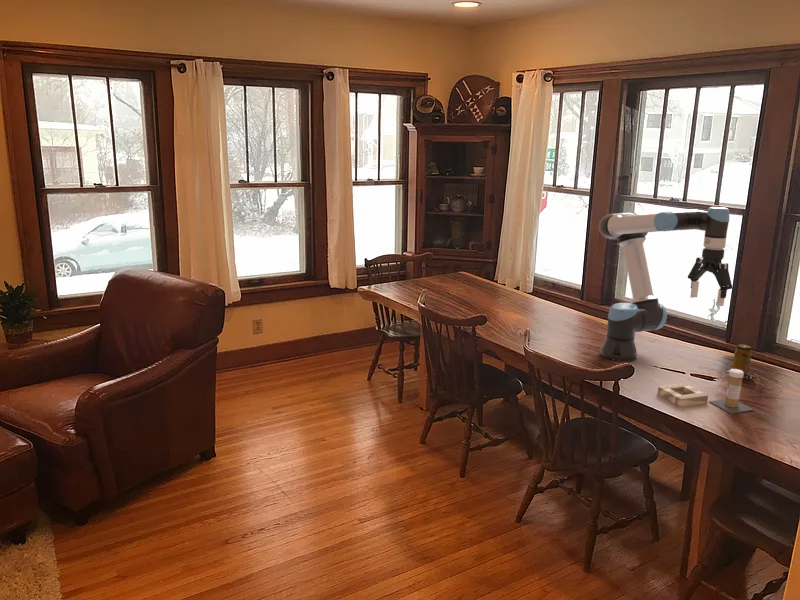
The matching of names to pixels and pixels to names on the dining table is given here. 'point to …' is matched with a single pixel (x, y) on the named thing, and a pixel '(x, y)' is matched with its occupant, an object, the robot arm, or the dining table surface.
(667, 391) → the frame
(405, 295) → the dining table surface
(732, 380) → the sprinkles bottle
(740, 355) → the condiment
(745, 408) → the coaster
